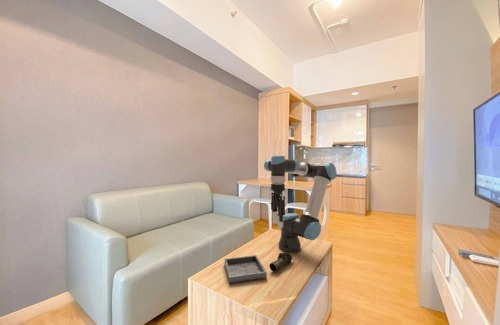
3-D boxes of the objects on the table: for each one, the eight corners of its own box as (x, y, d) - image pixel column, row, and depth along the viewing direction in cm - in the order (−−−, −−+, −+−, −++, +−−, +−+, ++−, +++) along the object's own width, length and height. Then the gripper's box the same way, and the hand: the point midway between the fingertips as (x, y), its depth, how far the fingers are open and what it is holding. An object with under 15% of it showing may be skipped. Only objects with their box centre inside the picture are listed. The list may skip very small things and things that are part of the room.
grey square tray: (256, 261, 120) (256, 255, 120) (266, 279, 101) (266, 272, 101) (224, 265, 115) (224, 258, 115) (229, 284, 96) (229, 277, 96)
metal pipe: (276, 273, 105) (276, 262, 105) (266, 268, 110) (266, 258, 110) (293, 262, 118) (294, 252, 118) (284, 258, 123) (284, 249, 123)
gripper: (265, 181, 118) (265, 220, 118) (278, 185, 99) (278, 231, 99) (277, 181, 120) (277, 219, 120) (292, 185, 101) (292, 230, 101)
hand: (277, 225), depth 110 cm, fingers open, 7 cm apart
